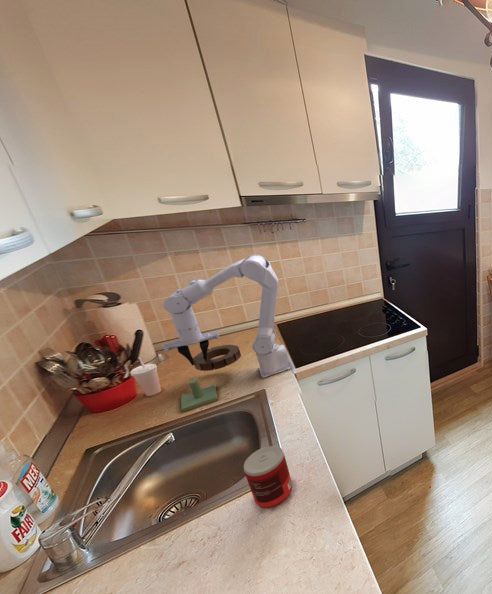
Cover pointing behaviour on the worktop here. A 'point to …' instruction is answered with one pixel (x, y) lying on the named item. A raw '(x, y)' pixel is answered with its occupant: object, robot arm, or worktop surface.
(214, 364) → the walnut ring
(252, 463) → the canned food
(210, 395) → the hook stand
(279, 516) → the worktop surface
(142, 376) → the smoothie
